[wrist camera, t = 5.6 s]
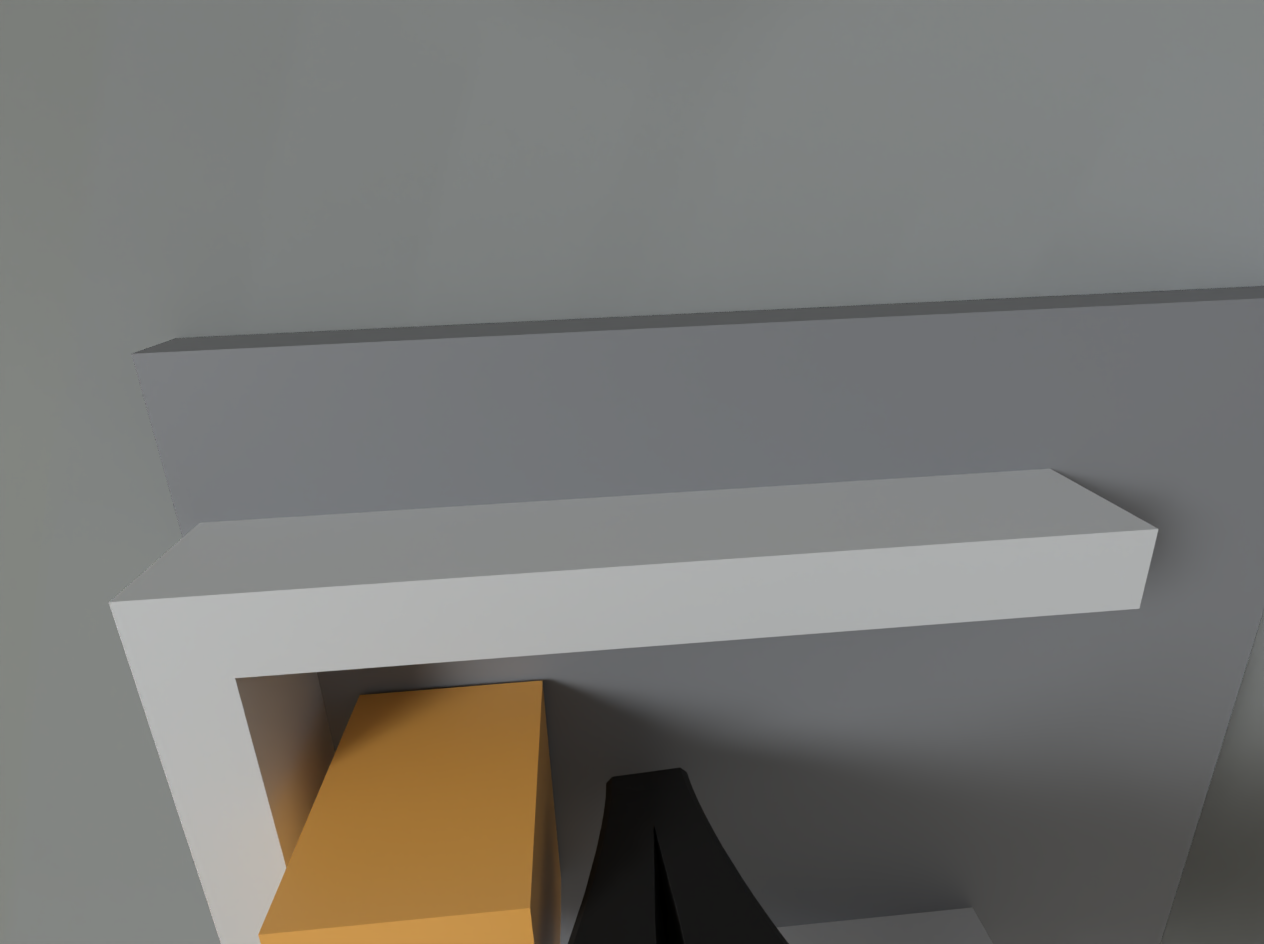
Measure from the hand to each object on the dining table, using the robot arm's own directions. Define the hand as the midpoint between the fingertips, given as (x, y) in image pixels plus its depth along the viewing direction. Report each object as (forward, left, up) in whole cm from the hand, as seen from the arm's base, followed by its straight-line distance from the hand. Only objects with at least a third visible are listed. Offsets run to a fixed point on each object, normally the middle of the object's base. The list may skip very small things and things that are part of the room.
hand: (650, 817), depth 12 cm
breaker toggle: (+3, 0, -1) cm, 3 cm away
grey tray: (-2, 0, -2) cm, 3 cm away
